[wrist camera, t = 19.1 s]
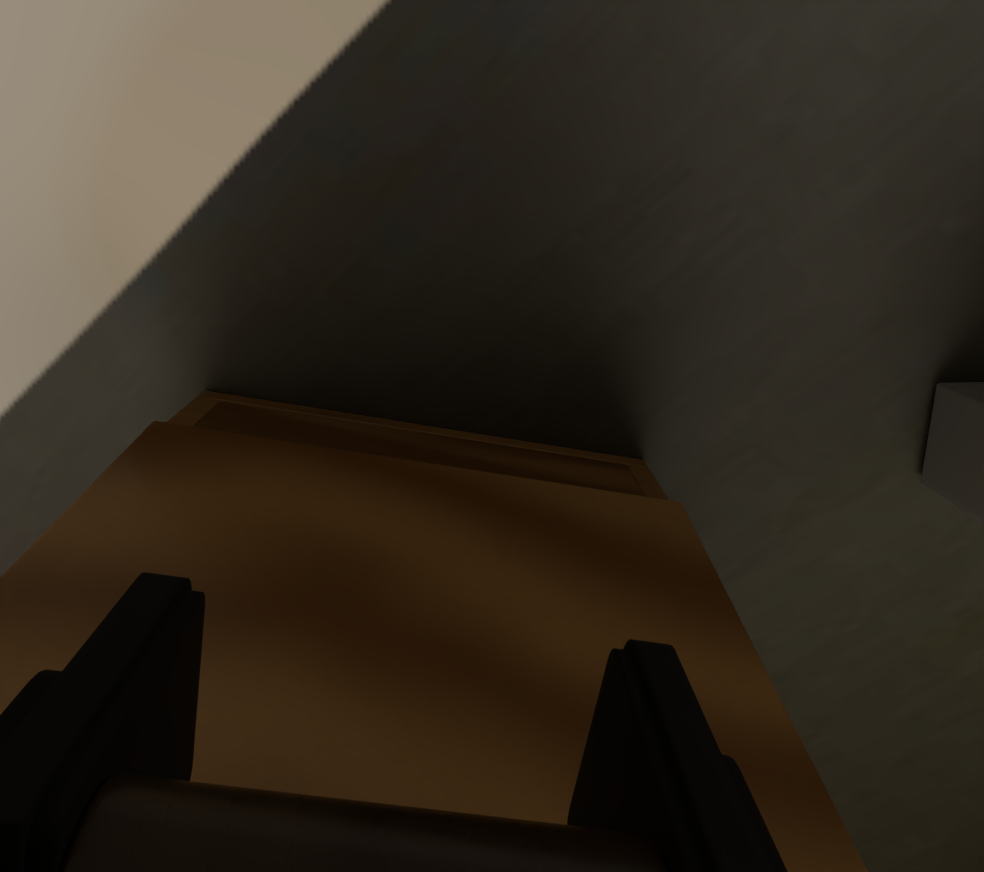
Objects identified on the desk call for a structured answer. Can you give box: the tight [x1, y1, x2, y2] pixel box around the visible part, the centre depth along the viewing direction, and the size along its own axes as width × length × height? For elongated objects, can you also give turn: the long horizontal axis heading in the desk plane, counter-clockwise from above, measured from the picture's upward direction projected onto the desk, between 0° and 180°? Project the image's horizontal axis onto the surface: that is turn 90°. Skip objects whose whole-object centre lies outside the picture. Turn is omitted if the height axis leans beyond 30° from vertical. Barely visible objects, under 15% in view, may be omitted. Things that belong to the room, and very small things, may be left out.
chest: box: [166, 390, 668, 500], centre depth 29 cm, size 18×16×4 cm
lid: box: [0, 421, 868, 872], centre depth 14 cm, size 18×16×5 cm
